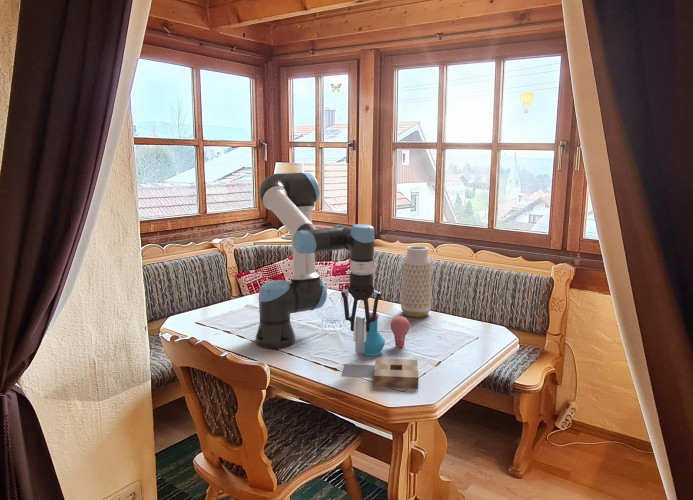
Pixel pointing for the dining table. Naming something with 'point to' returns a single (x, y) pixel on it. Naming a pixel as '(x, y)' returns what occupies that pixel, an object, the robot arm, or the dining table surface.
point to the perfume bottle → (373, 339)
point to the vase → (416, 282)
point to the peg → (359, 334)
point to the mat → (358, 370)
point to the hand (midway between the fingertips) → (359, 340)
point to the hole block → (396, 373)
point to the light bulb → (400, 330)
